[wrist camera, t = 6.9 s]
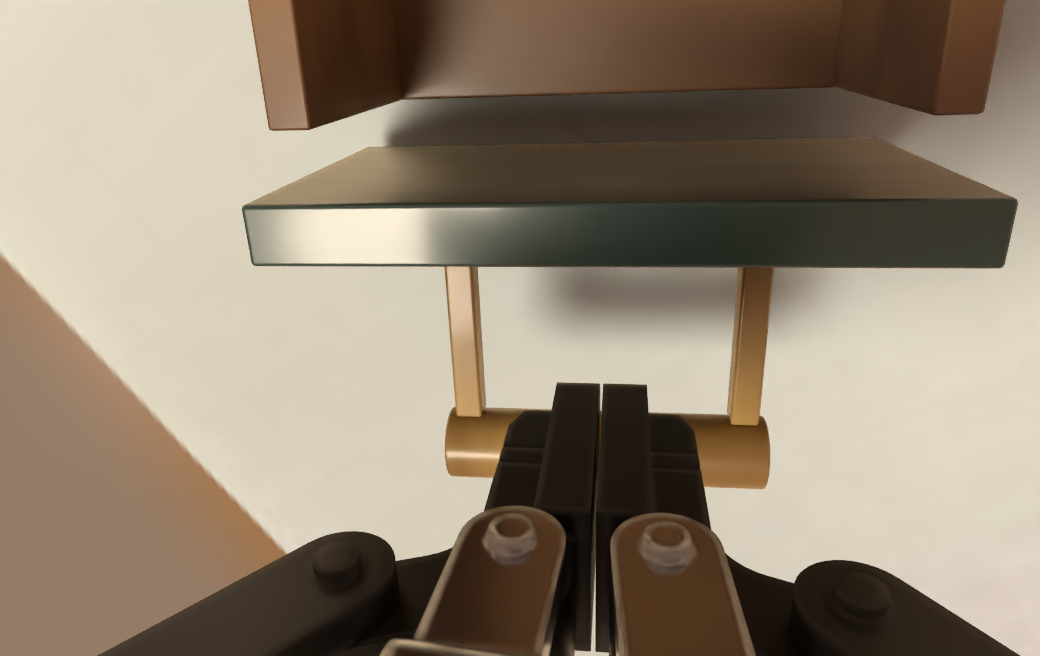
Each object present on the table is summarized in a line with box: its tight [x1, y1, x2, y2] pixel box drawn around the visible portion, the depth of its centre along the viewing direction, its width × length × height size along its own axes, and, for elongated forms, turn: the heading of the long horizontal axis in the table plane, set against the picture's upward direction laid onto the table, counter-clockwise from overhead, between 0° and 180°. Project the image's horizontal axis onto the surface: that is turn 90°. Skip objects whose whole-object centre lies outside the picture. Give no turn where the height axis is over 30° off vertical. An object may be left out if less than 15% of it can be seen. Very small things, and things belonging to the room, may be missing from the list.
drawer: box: [242, 0, 1018, 489], centre depth 15 cm, size 20×13×7 cm, turn 2°
